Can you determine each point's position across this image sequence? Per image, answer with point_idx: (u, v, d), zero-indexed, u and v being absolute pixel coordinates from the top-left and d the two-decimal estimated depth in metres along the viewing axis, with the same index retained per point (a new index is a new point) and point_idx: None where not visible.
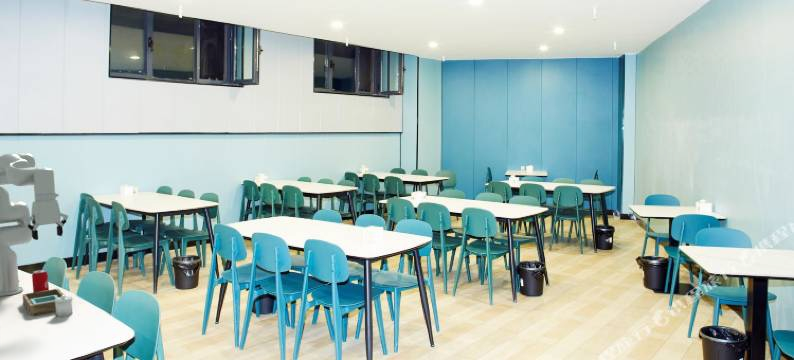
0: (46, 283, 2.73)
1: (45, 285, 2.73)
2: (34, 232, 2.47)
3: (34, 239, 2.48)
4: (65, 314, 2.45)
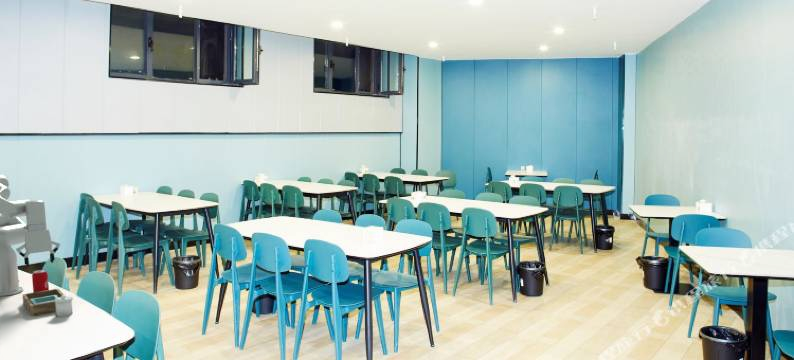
0: (46, 283, 2.73)
1: (45, 285, 2.73)
2: None
3: (52, 262, 2.75)
4: (65, 314, 2.45)
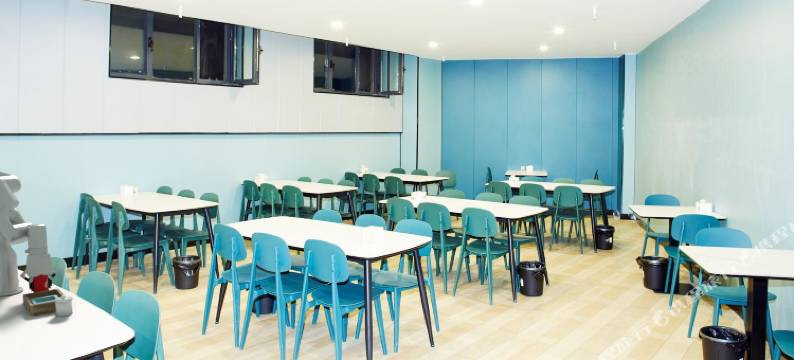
0: (46, 283, 2.73)
1: (45, 285, 2.73)
2: None
3: None
4: (65, 314, 2.45)
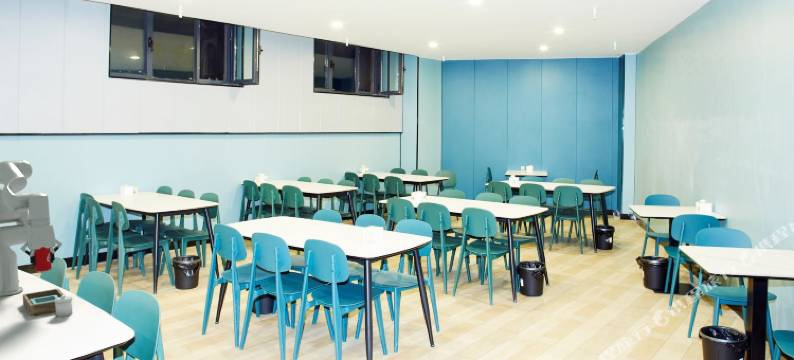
0: (48, 257, 2.56)
1: (47, 259, 2.55)
2: None
3: (52, 262, 2.59)
4: (65, 314, 2.45)
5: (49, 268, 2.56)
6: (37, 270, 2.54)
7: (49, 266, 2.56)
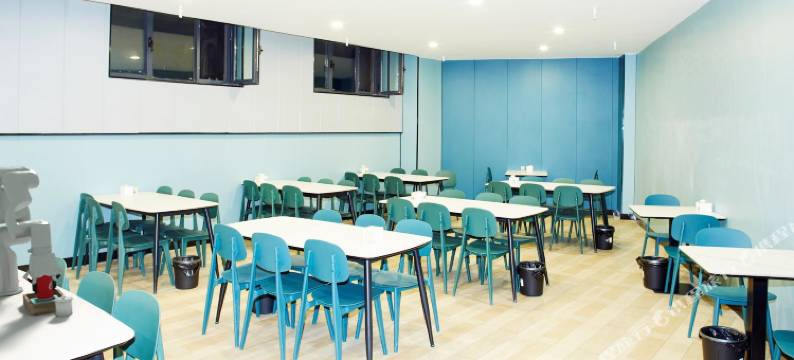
0: (50, 284, 2.57)
1: (49, 286, 2.56)
2: None
3: (54, 289, 2.60)
4: (65, 314, 2.45)
5: (51, 296, 2.57)
6: (39, 298, 2.55)
7: (51, 294, 2.57)
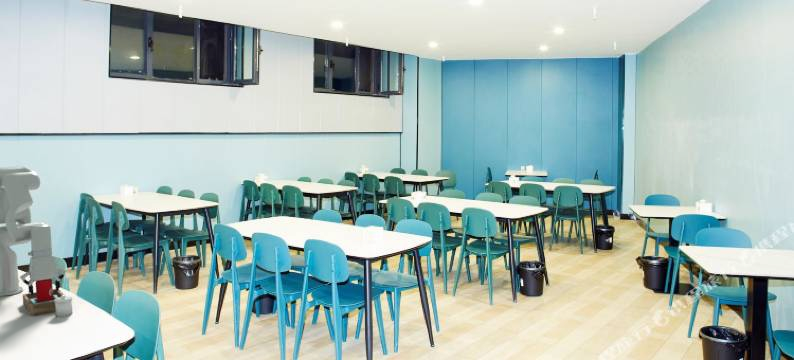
0: (50, 291, 2.57)
1: (49, 292, 2.57)
2: None
3: None
4: (65, 314, 2.45)
5: None
6: None
7: (51, 300, 2.58)
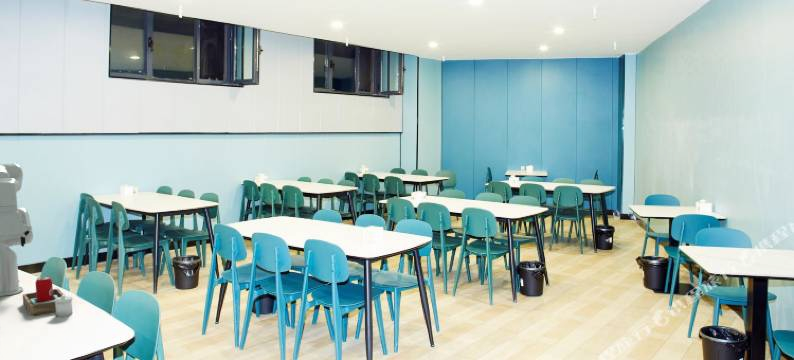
0: (50, 291, 2.57)
1: (49, 292, 2.57)
2: None
3: (23, 246, 2.63)
4: (65, 314, 2.45)
5: None
6: None
7: (51, 300, 2.58)
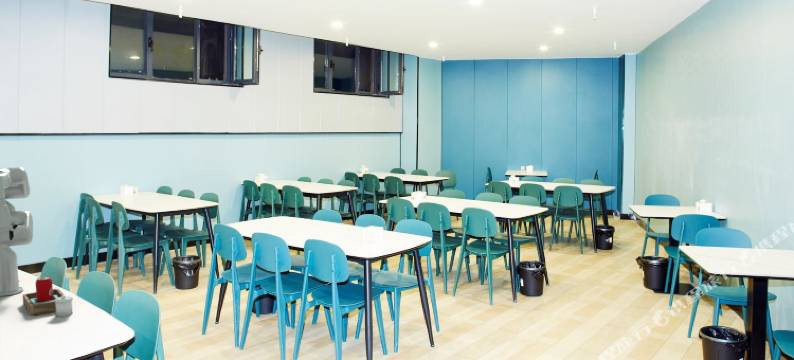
0: (50, 291, 2.57)
1: (49, 292, 2.57)
2: None
3: (11, 239, 2.63)
4: (66, 314, 2.45)
5: None
6: None
7: (51, 300, 2.58)
